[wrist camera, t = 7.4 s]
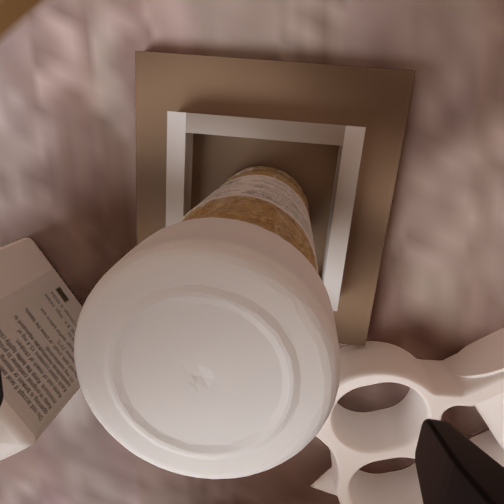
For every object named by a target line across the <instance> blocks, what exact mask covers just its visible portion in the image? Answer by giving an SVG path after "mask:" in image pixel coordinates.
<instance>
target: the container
mask: <svg viewBox="0 0 504 504" xmlns="http://www.w3.org/2000/svg"><path fill="white" fill-rule="evenodd" d="M82 308H83V307H82V306H81V305H80V303H79V302H78V300H77V299H76V298H75V296H74V295H73V294H72V292H71V291H70V290H69V288H68V287H67V286H66V284H65V283H64V282H63V280H62V279H61V277H60V276H59V275H58V273H57V272H56V271H55V269H54V268H53V267H52V265H51V264H50V263H49V261H48V260H47V259H46V257H45V256H44V254H43V253H42V252H41V250H40V249H39V248H38V246H37V245H36V244H35V242H34V241H33V240H32V239H31V238H22V239H20V240H17V241H15V242H12V243H10V244H7V245H5V246H2V247H0V368H1V376H2V384H3V393H4V397H3V402H2V404H1V406H0V461H1V460H3V459H5V458H7V457H9V456H11V455H13V454H15V453H18V452H20V451H22V450H24V449H26V448H28V447H29V446H31V445H32V444H33V443H34V442H35V441H36V440H37V439H38V437H39V436H40V435H41V434H42V433H43V431H44V430H45V429H46V428H47V426H48V425H49V424H50V423H51V422H52V420H53V419H54V418H55V417H56V416H57V414H58V413H59V412H60V411H61V409H62V408H63V407H64V406H65V405H66V403H67V402H68V401H69V400H70V399H71V397H72V396H73V395H74V394H75V393H76V391H77V390H78V389H79V388H80V384H79V381H78V377H77V372H76V366H75V361H74V338H75V332H76V326H77V322H78V319H79V315H80V312H81V310H82Z"/></svg>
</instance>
